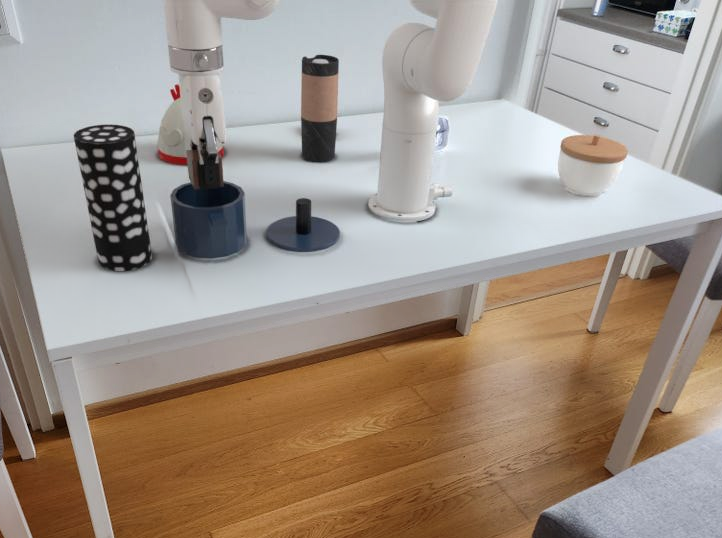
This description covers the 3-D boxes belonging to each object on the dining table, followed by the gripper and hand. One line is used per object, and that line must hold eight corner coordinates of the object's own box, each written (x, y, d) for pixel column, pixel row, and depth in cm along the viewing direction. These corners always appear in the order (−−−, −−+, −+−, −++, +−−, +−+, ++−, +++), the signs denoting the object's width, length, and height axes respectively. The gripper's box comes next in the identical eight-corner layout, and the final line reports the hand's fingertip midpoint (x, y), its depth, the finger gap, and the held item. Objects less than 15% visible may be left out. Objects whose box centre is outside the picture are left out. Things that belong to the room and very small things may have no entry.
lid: (325, 218, 123) (326, 183, 119) (350, 249, 114) (352, 212, 110) (258, 226, 119) (257, 190, 115) (279, 259, 110) (278, 221, 106)
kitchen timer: (194, 170, 139) (187, 94, 130) (145, 155, 144) (135, 82, 135) (236, 151, 149) (232, 79, 140) (188, 138, 154) (182, 68, 145)
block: (217, 175, 109) (215, 147, 106) (223, 186, 106) (221, 157, 103) (188, 178, 108) (186, 150, 105) (194, 189, 104) (191, 160, 101)
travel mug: (331, 164, 144) (335, 65, 132) (297, 160, 145) (297, 61, 133) (338, 152, 150) (342, 56, 138) (305, 148, 151) (306, 53, 139)
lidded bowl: (560, 173, 145) (573, 121, 138) (620, 186, 140) (637, 133, 133) (543, 192, 136) (555, 137, 129) (606, 207, 131) (623, 151, 125)
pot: (233, 219, 121) (230, 170, 116) (258, 263, 109) (256, 211, 103) (168, 227, 118) (162, 177, 112) (187, 273, 105) (181, 220, 100)
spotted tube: (156, 246, 112) (139, 125, 100) (146, 271, 105) (127, 144, 93) (105, 245, 112) (82, 123, 99) (92, 270, 105) (66, 143, 93)
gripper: (237, 72, 91) (243, 200, 101) (209, 43, 103) (217, 160, 114) (180, 75, 88) (193, 205, 99) (159, 45, 101) (173, 164, 112)
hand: (206, 180), depth 106 cm, fingers closed on block, 4 cm apart
